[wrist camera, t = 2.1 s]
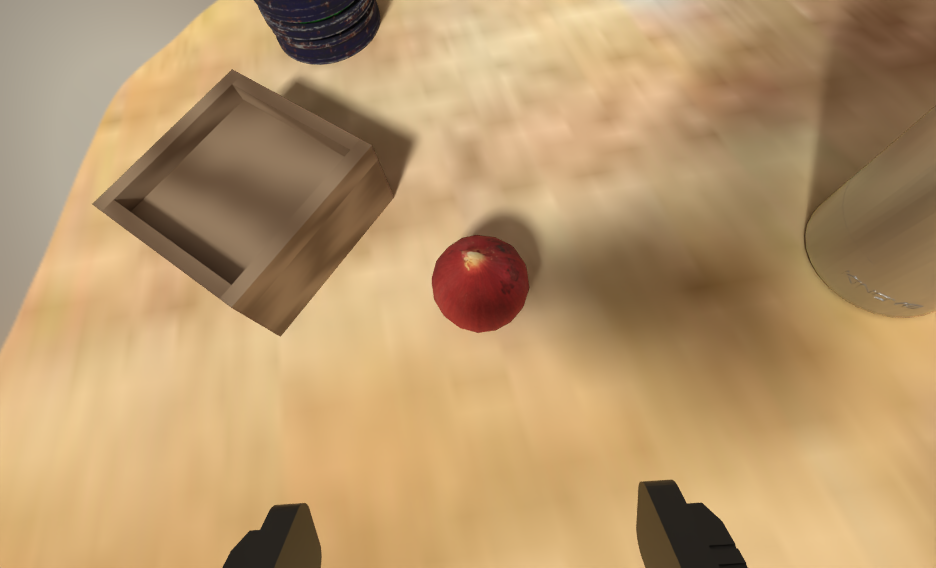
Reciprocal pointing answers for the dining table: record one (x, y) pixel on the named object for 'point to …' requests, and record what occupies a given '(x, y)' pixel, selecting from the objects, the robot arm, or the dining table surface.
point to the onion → (480, 283)
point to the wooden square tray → (252, 199)
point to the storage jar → (321, 27)
